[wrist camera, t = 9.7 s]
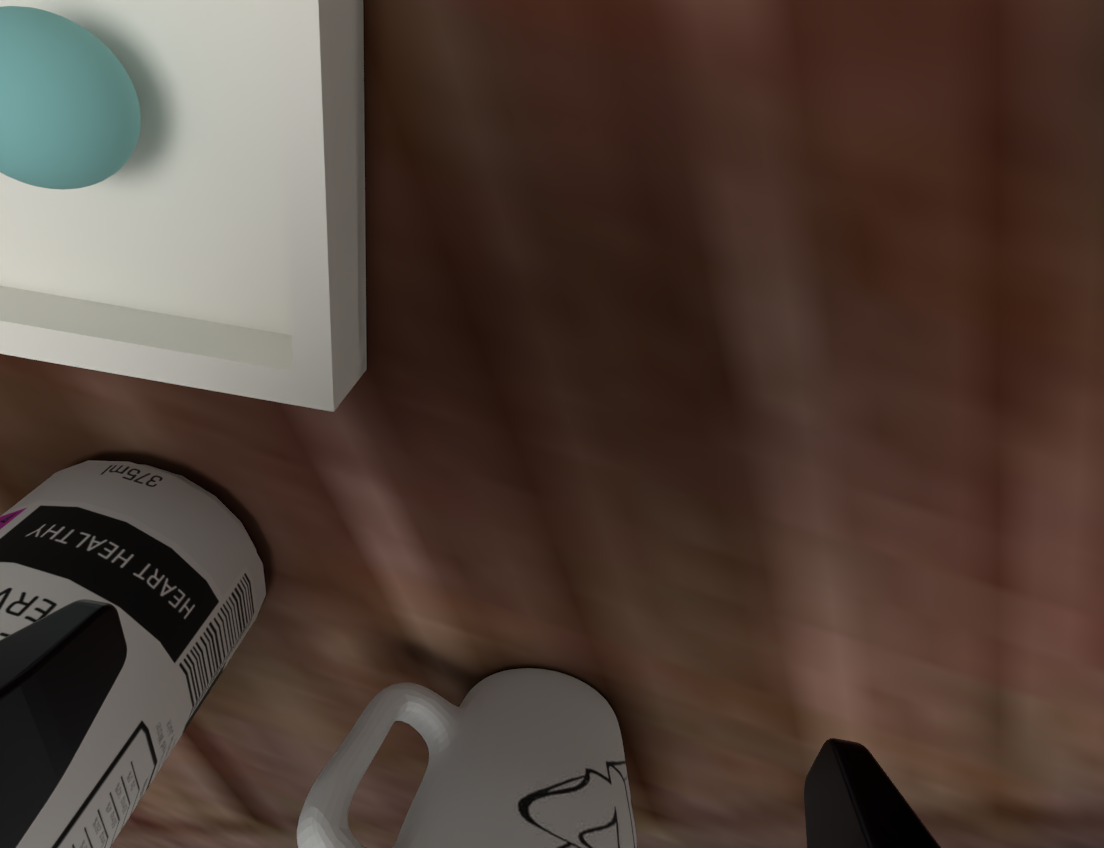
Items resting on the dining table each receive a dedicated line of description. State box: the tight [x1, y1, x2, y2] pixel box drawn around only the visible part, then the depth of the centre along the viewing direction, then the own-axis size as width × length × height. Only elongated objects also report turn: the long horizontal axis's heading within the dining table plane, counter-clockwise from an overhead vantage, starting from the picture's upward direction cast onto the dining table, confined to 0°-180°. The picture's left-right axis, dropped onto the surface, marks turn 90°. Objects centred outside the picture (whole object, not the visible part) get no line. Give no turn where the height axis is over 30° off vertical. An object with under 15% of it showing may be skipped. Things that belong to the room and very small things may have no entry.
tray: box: [0, 0, 367, 412], centre depth 16 cm, size 13×13×2 cm
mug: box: [297, 668, 638, 848], centre depth 23 cm, size 11×8×10 cm
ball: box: [0, 6, 141, 190], centre depth 15 cm, size 4×4×4 cm
